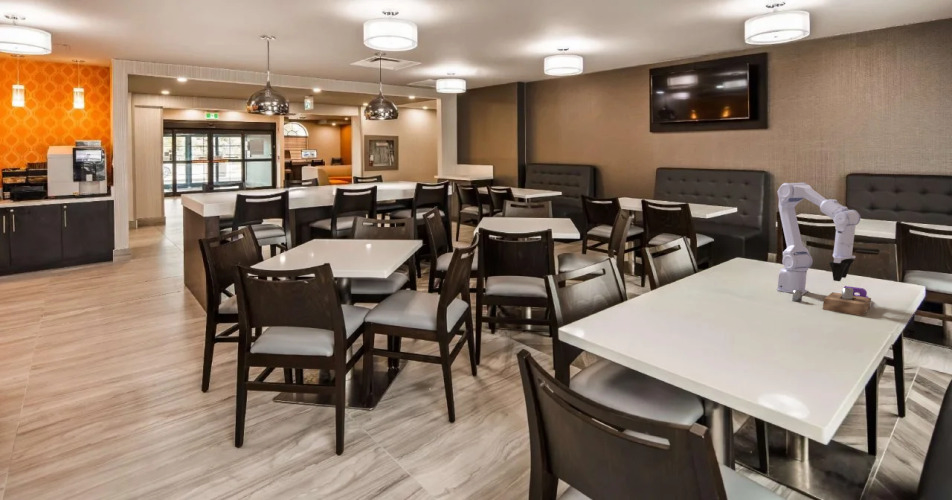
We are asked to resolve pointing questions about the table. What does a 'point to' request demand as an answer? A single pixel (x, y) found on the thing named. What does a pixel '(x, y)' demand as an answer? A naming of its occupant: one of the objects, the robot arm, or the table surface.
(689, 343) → the table surface
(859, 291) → the bracket
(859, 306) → the hole block
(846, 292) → the tall pin
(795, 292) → the short pin
